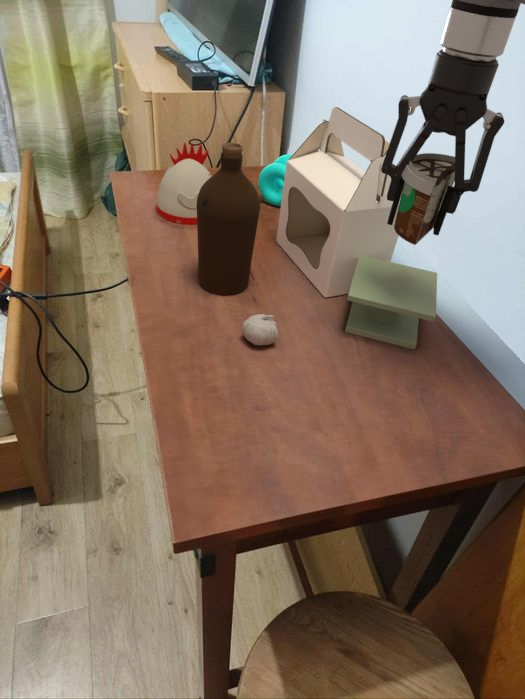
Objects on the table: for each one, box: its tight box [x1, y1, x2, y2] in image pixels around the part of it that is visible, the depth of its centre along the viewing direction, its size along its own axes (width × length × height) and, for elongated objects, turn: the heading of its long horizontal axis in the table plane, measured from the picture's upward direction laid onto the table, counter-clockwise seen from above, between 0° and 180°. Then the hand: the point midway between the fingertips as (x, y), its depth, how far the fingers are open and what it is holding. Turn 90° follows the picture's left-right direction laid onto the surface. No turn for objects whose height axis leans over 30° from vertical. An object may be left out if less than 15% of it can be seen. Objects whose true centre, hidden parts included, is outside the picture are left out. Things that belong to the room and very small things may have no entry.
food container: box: [394, 152, 455, 246], centre depth 74 cm, size 12×6×10 cm, turn 145°
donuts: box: [257, 153, 293, 207], centre depth 122 cm, size 10×10×10 cm
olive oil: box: [196, 142, 261, 296], centre depth 87 cm, size 11×11×25 cm
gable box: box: [275, 106, 402, 299], centre depth 95 cm, size 22×13×28 cm, turn 24°
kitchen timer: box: [156, 141, 212, 226], centre depth 111 cm, size 14×14×15 cm
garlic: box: [241, 313, 279, 346], centre depth 81 cm, size 6×5×5 cm
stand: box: [344, 256, 438, 350], centre depth 88 cm, size 14×14×8 cm
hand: (413, 225), depth 77 cm, fingers closed on food container, 6 cm apart
